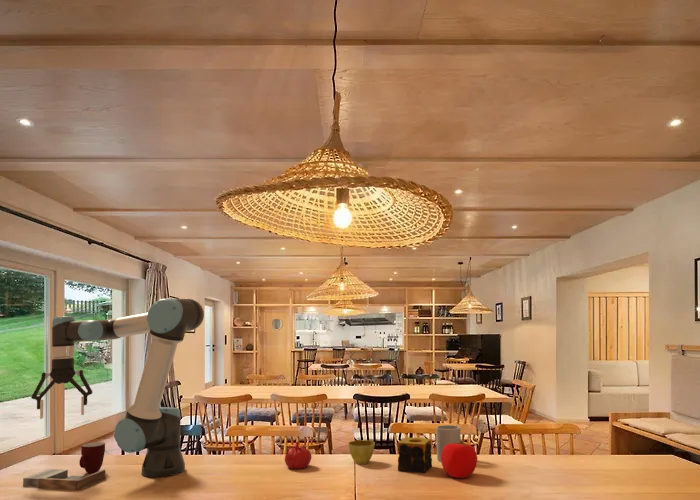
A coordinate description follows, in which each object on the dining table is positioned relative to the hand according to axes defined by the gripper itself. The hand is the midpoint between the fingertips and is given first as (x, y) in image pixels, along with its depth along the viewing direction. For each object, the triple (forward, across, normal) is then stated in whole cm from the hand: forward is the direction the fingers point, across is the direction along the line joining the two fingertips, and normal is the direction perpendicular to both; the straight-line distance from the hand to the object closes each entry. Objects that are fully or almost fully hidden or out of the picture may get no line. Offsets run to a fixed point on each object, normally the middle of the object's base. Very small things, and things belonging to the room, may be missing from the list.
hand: (62, 416), depth 218 cm
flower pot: (+23, -105, +31) cm, 112 cm away
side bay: (+21, -2, +12) cm, 24 cm away
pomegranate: (+23, -81, +27) cm, 89 cm away
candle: (+24, -119, +48) cm, 131 cm away
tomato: (+24, -128, +63) cm, 145 cm away
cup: (+24, -137, +42) cm, 145 cm away
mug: (+21, -10, +2) cm, 23 cm away
